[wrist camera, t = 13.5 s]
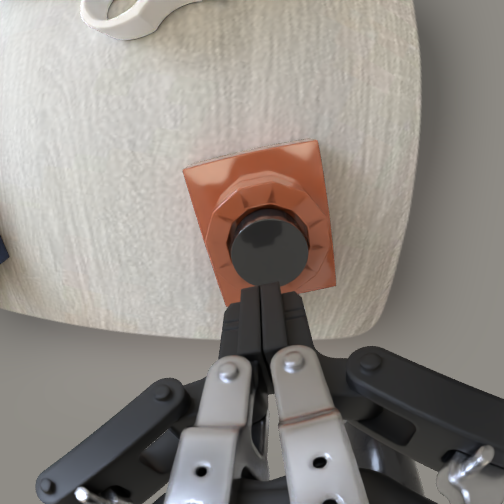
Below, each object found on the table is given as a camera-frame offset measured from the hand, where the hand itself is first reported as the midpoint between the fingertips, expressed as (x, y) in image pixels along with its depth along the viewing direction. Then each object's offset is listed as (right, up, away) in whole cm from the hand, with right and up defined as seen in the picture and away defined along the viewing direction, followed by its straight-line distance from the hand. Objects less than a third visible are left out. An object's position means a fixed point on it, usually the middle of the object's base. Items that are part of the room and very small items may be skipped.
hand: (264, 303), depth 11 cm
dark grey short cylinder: (0, +3, +5) cm, 5 cm away
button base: (0, +4, +8) cm, 9 cm away
